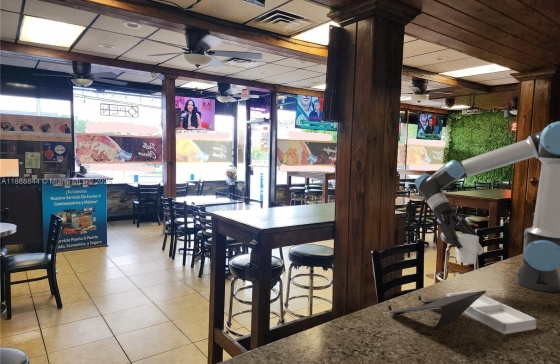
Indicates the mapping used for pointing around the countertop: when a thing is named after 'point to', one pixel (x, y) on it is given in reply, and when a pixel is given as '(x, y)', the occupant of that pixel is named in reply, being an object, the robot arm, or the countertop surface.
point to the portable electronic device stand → (444, 306)
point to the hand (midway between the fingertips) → (474, 254)
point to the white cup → (468, 248)
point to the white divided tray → (498, 315)
